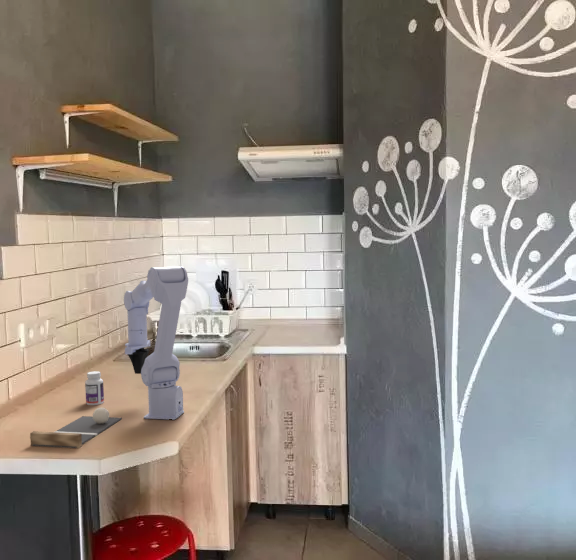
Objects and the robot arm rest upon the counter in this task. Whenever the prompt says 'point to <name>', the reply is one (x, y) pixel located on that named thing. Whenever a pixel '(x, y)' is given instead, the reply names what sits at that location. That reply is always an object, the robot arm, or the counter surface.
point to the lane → (85, 428)
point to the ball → (100, 415)
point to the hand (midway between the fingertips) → (138, 373)
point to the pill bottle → (94, 388)
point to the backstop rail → (56, 439)
